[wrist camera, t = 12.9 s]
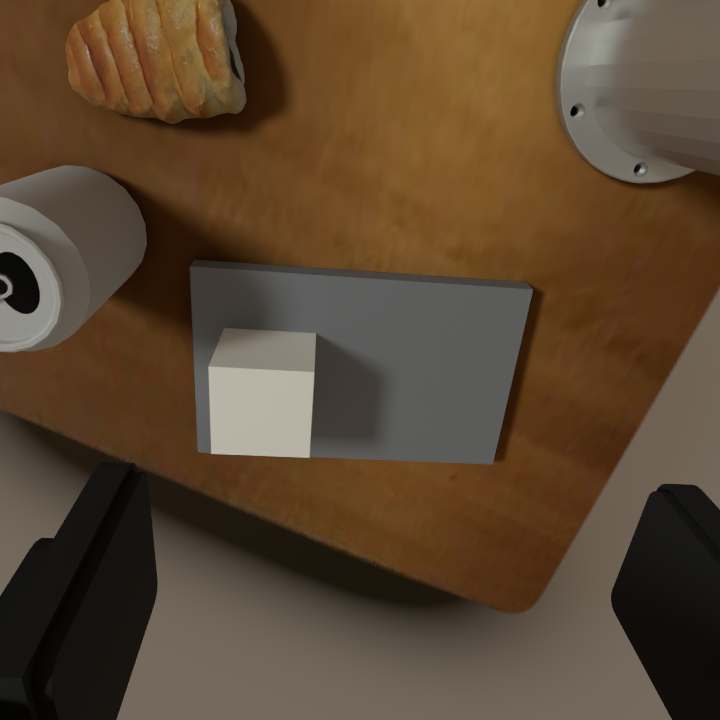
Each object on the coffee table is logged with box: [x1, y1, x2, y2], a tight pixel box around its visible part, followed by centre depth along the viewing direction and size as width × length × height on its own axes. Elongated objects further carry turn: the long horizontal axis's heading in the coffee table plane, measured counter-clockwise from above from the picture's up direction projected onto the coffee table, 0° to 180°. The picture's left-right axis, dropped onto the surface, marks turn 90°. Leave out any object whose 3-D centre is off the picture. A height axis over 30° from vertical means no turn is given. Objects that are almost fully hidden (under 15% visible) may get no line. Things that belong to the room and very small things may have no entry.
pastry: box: [65, 0, 247, 124], centre depth 30 cm, size 9×7×4 cm
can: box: [0, 165, 147, 352], centre depth 30 cm, size 8×8×12 cm
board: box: [190, 260, 533, 464], centre depth 40 cm, size 22×14×2 cm, turn 85°
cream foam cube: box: [208, 328, 316, 458], centre depth 36 cm, size 6×6×6 cm
